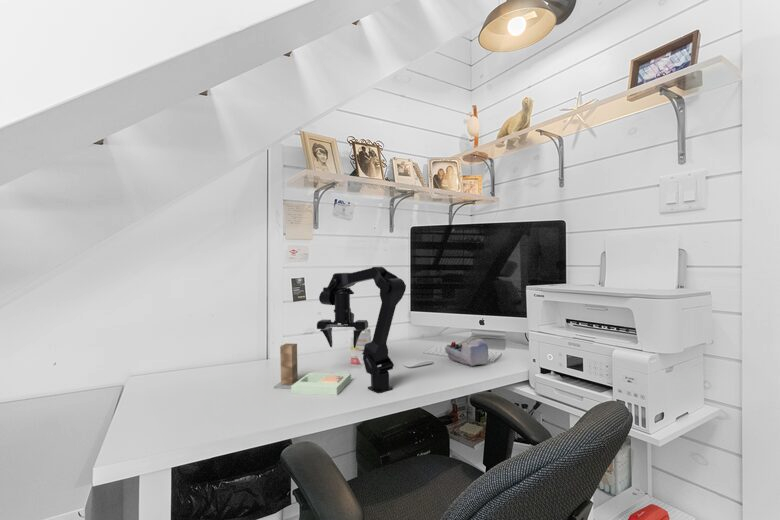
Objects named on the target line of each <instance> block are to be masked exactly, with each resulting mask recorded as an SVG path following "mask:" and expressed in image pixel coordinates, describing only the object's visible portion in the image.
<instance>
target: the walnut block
mask: <svg viewBox="0 0 780 520" xmlns="http://www.w3.org/2000/svg"><path fill="white" fill-rule="evenodd" d="M279 347H280V352H279V354H280V382H281V385H289V386H292V385H293V384H294V383H296V382H297V381H298V380H299V379H298V343H283V344H282V345H279Z"/></svg>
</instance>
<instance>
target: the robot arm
mask: <svg viewBox="0 0 780 520" xmlns="http://www.w3.org/2000/svg"><path fill="white" fill-rule="evenodd" d="M371 280H373V281H374V283H375V286H376V287H377V288H378V289H379V297H380V300H381V304H380V308H379V309H380V310H379V313H378V317H377V321H376V324H375V328H374V332H373V337H372V339H371V342H370V343H366V344H365V346H364V352H363V353H362V354H364V355H363V361H364V364H363V365H364V368H365V371H366V374H369V375H370V385H369V386H367V389H368V390H370V391H372V392H375V393H377V394H379V393H384V392H386V391H387V392H388V391H391V390H393V389H394V388H393V387H392V386H390V372H389V371H391V370H393V368H394V365H395V364H394V362H393V361H392V360H391V358H390V356H389V349H388V344H387V342H388V338H389V335H390V330H391V328H392V327H391V325H392V322H393V319H394V315H395V311H396V307H397V305H398V304H399V302H400V301H401V300H402V299H403V296H404V295H405V293H406V290H407V285H406V283H405V281H404V280H403V279H402V278H400V277H398V276H397V275H395V274H393V273H392V272H390V271H388V270H387V269H386V268H385V267H383V266H373V267H371V268H370V267H369V268H367V269H362V270H359V271H353V272H337V273H333V274H332V277H331V278H330V281H329V284H328V286H325V287H322V291H320V294H319V297H318V299H319V302H320V304H321V305H327V306H328V305H329V306H334V309H333V313H334V320H333V321H332V319H321V320H318V321H317V323H316V329H317V330H319V331H320V332H322V333H323V335H324V336H325V339H326V341H327V343H328V345H329V347H330V348H333V334H332V333H333V332H332V331H333V327H334V328H335V327H336V328H353V329H356V330H354V340H353V345H354V348H355V347H356V344H357V341H358V338H359V335H360V333H363V332H365V331H364V330H365V329H369V322H368V320H367V319H357V320H355V313H353V312H352V309H351V295H354V294H355V292H354V291H353V289H351V287H353V286H355V284H357V283H360V282H367V281H371Z"/></svg>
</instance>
